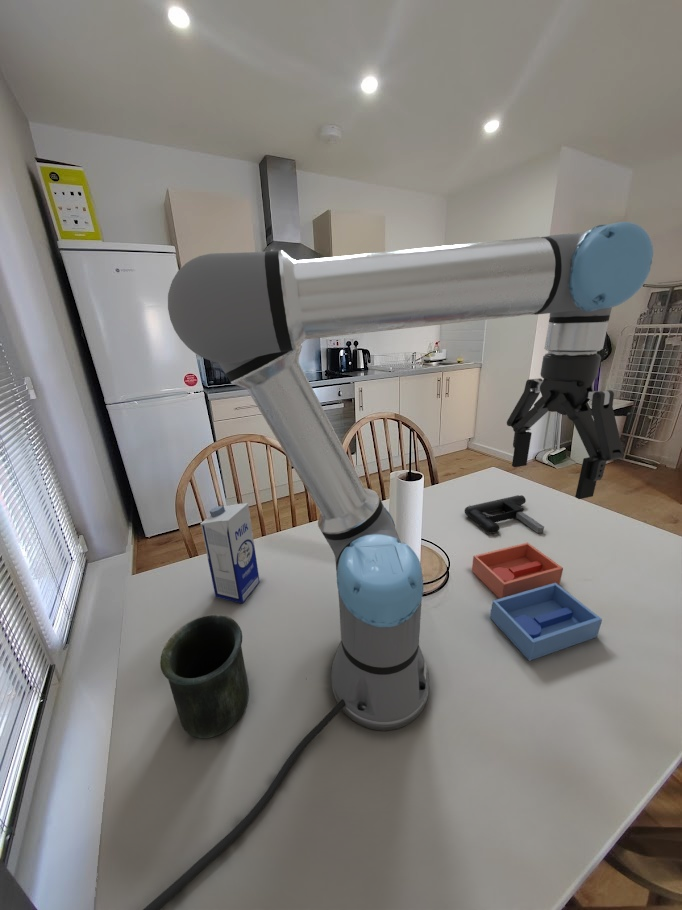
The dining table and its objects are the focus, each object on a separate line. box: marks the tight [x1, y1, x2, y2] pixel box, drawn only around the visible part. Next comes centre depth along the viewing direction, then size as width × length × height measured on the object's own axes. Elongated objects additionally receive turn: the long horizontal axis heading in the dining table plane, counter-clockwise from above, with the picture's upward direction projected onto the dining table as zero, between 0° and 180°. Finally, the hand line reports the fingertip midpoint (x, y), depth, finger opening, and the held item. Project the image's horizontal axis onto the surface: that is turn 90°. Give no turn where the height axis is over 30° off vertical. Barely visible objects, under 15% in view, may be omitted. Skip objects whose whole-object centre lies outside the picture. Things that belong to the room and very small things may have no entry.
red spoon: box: [492, 561, 542, 582], centre depth 77 cm, size 12×4×2 cm, turn 107°
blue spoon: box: [514, 607, 573, 639], centre depth 65 cm, size 12×4×2 cm, turn 107°
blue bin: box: [489, 583, 603, 662], centre depth 64 cm, size 15×10×4 cm, turn 107°
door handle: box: [464, 494, 545, 534], centre depth 99 cm, size 3×20×16 cm
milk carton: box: [200, 503, 261, 604], centre depth 74 cm, size 7×7×20 cm
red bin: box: [471, 542, 564, 599], centre depth 77 cm, size 15×10×4 cm, turn 107°
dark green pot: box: [159, 614, 250, 739], centre depth 53 cm, size 11×15×12 cm
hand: (548, 479), depth 61 cm, fingers open, 13 cm apart
